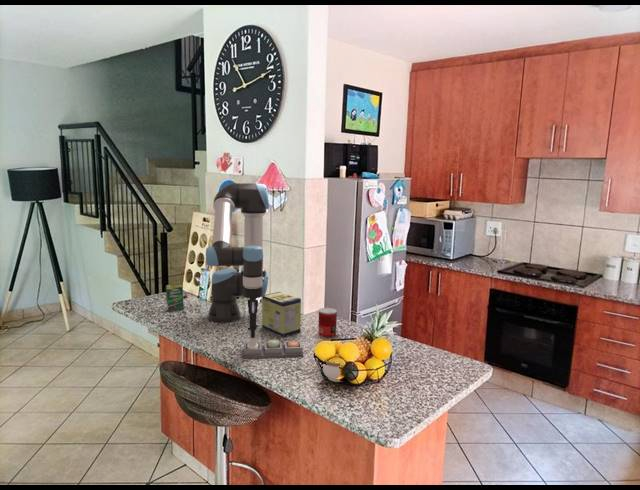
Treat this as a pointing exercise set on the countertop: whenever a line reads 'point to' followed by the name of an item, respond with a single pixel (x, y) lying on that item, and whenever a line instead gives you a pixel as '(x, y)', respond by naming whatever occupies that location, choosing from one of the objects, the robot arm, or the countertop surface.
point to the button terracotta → (293, 344)
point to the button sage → (273, 344)
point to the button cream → (252, 346)
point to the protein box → (281, 313)
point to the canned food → (327, 322)
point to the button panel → (273, 351)
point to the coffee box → (174, 297)
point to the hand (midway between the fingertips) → (252, 344)
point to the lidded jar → (332, 370)
